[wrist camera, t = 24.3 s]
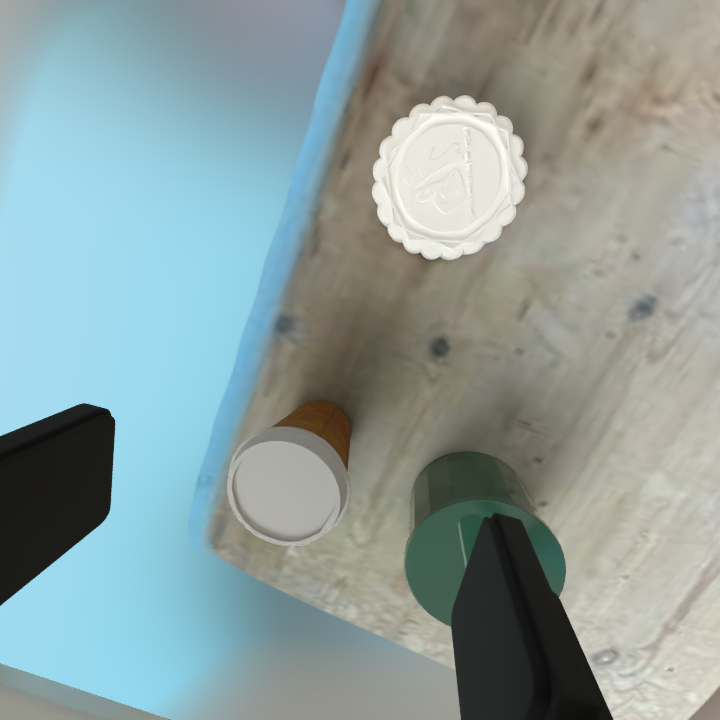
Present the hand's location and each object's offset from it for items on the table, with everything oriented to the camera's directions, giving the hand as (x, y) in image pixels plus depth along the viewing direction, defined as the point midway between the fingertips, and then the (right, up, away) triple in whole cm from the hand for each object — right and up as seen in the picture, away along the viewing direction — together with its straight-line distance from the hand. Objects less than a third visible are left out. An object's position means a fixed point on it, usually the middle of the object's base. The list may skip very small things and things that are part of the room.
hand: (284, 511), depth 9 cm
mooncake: (+9, +18, +24) cm, 32 cm away
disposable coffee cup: (-2, -3, +31) cm, 31 cm away
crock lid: (+12, -13, +22) cm, 28 cm away
